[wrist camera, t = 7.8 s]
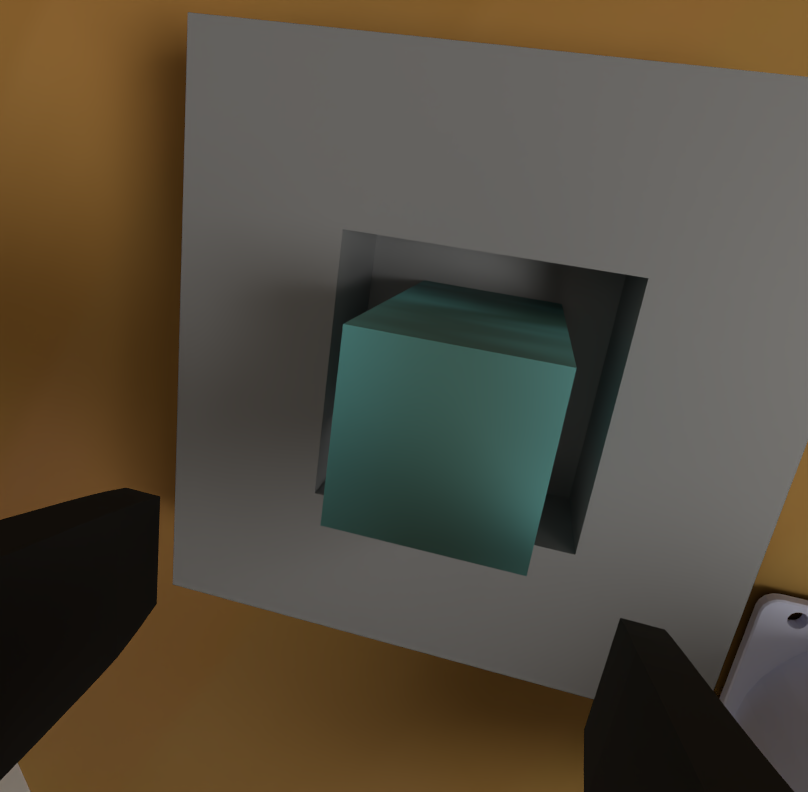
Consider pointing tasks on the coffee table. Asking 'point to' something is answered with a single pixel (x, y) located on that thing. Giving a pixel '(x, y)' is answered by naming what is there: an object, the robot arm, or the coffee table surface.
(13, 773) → the puzzle toy
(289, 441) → the well block
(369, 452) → the teal peg
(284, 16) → the coffee table surface
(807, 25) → the coffee table surface
